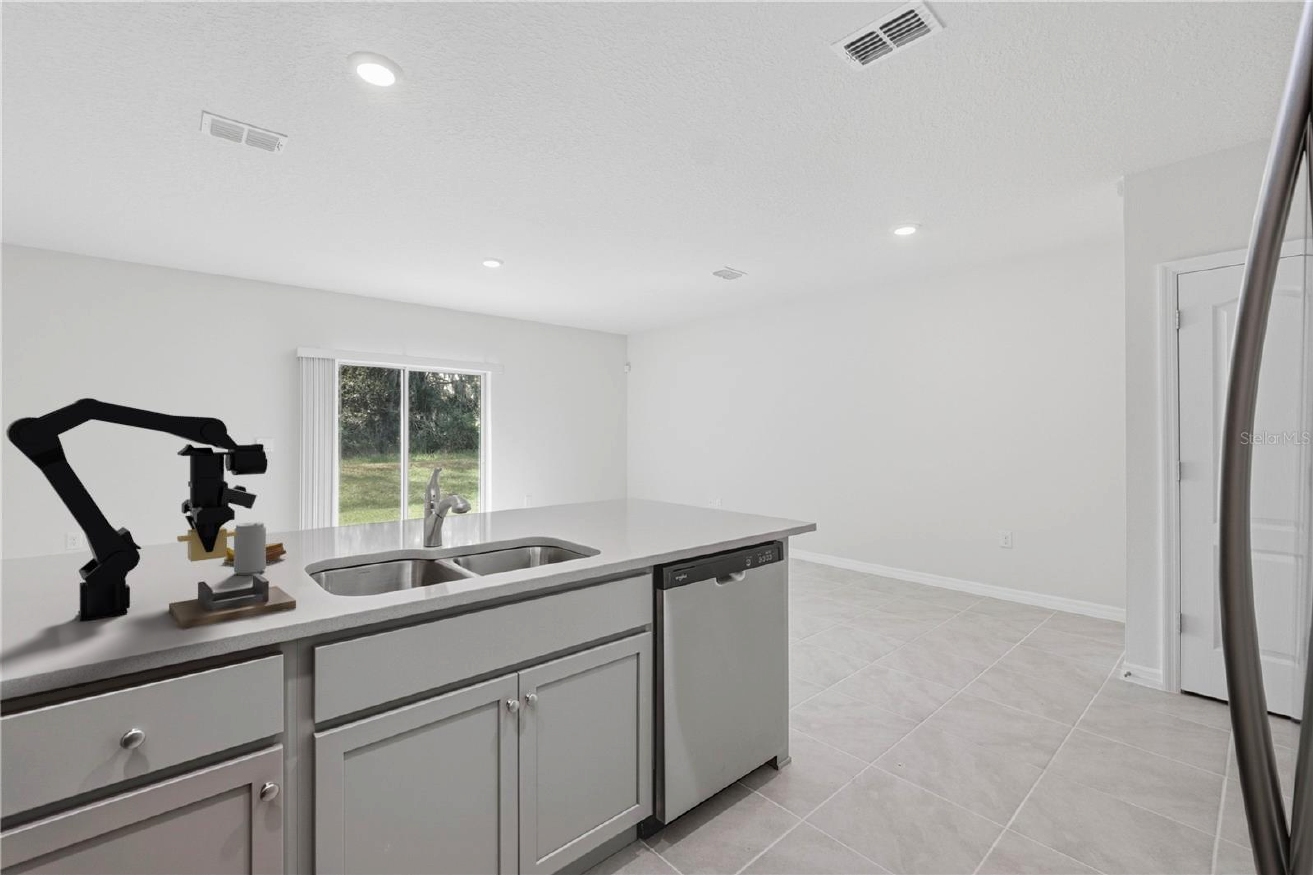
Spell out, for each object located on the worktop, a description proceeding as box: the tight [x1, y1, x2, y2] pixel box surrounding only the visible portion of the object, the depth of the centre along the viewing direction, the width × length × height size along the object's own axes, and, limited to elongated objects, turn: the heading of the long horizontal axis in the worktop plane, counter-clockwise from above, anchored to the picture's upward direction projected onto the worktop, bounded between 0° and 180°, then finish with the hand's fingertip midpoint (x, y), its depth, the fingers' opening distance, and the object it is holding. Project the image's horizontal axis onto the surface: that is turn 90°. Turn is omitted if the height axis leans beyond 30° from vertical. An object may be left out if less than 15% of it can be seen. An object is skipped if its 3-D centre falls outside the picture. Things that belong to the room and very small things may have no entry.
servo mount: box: [168, 573, 297, 630], centre depth 115 cm, size 18×14×6 cm
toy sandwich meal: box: [223, 541, 287, 566], centre depth 154 cm, size 12×14×5 cm
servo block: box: [176, 526, 236, 562], centre depth 123 cm, size 10×4×6 cm, turn 137°
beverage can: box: [233, 521, 267, 576], centre depth 142 cm, size 6×6×12 cm
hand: (207, 550), depth 123 cm, fingers closed on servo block, 4 cm apart
